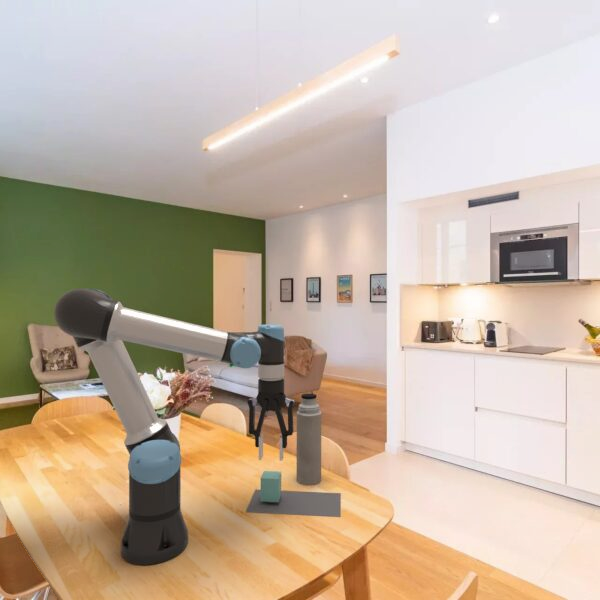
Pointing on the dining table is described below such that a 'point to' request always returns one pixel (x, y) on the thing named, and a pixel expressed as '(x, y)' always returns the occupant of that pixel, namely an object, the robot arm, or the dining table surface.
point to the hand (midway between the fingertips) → (271, 458)
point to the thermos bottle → (309, 441)
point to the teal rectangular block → (271, 486)
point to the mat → (298, 504)
